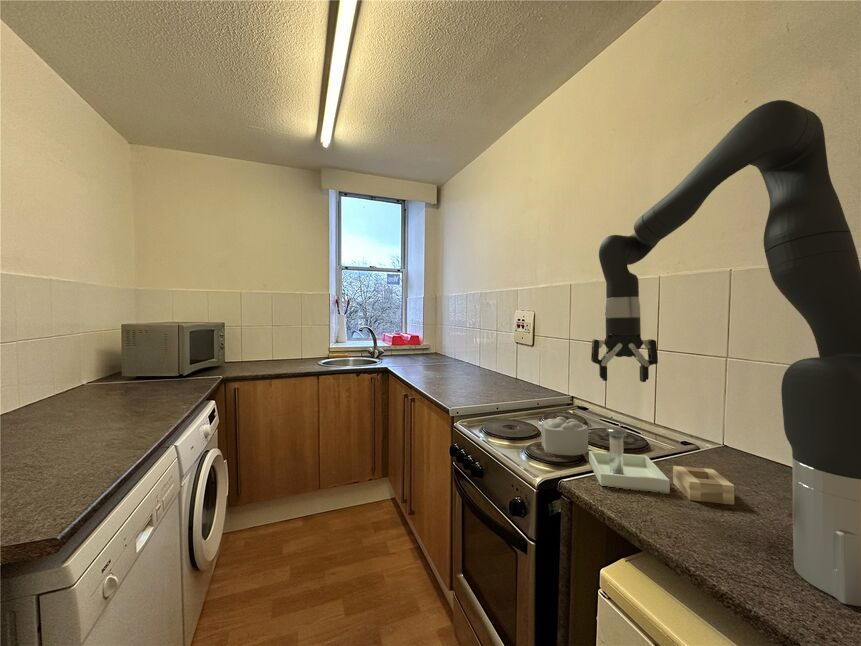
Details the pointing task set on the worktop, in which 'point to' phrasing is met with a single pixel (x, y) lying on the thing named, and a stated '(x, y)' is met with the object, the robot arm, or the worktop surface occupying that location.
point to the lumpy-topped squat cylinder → (564, 436)
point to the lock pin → (616, 449)
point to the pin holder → (703, 485)
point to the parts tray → (630, 473)
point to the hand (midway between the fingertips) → (623, 381)
